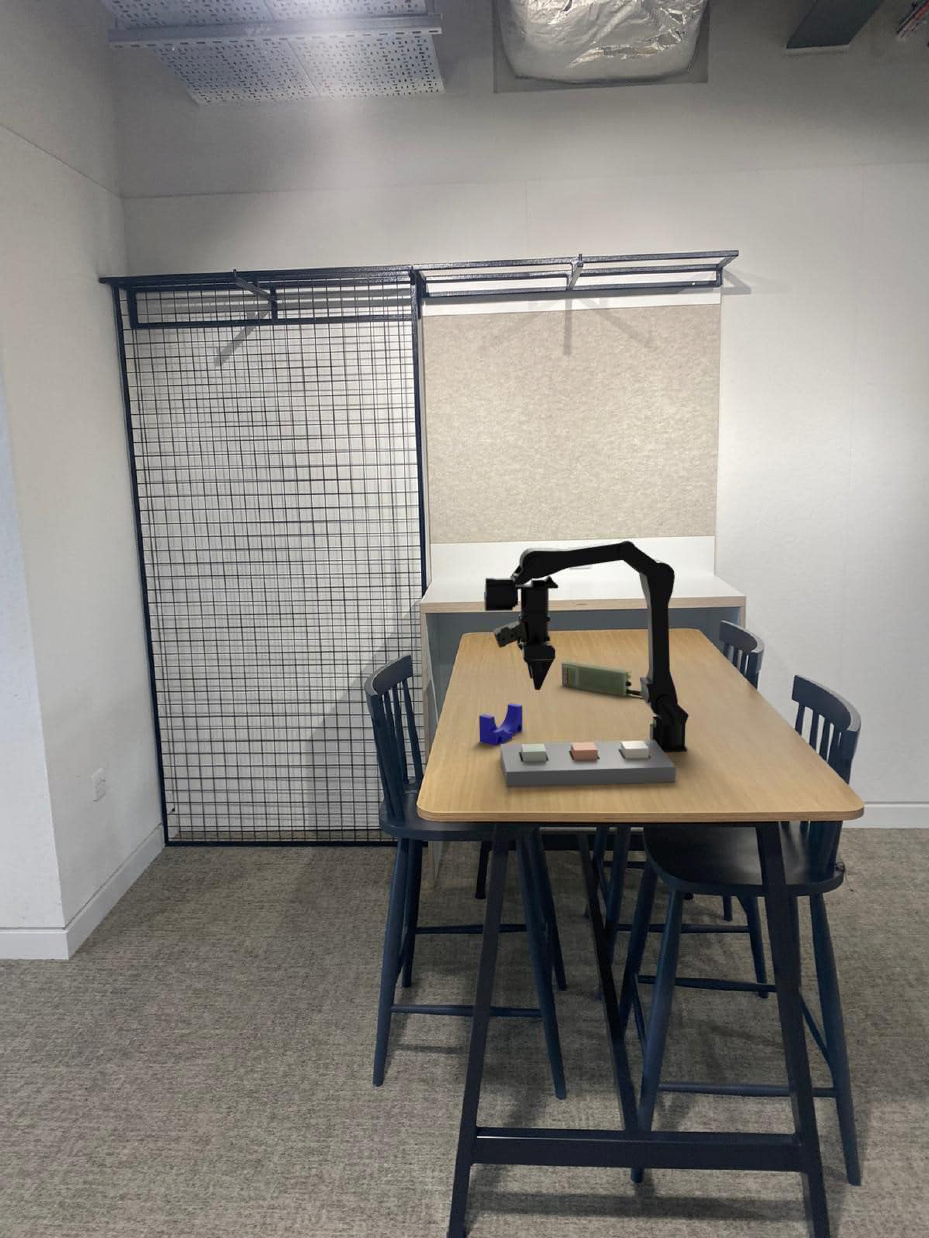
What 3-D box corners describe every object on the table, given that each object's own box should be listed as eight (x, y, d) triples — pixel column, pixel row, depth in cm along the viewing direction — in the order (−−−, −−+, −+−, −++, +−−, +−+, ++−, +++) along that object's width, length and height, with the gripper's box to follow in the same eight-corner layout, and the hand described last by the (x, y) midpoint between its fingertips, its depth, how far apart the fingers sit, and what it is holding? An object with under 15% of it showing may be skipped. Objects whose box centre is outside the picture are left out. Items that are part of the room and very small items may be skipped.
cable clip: (496, 745, 186) (495, 719, 185) (479, 742, 189) (479, 715, 188) (527, 731, 195) (527, 706, 194) (511, 728, 198) (511, 703, 197)
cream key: (643, 750, 173) (643, 740, 172) (648, 758, 168) (648, 748, 168) (620, 751, 173) (620, 741, 172) (625, 758, 168) (625, 748, 168)
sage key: (543, 753, 172) (543, 743, 172) (546, 760, 168) (546, 751, 167) (521, 753, 172) (521, 744, 172) (523, 761, 168) (523, 751, 167)
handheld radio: (567, 683, 237) (650, 697, 221) (560, 686, 234) (643, 701, 218) (566, 660, 235) (649, 672, 220) (559, 663, 233) (643, 675, 217)
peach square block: (593, 751, 173) (593, 742, 172) (597, 759, 168) (597, 749, 168) (571, 752, 172) (571, 742, 172) (574, 760, 168) (574, 750, 168)
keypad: (654, 753, 179) (654, 739, 178) (675, 781, 163) (675, 766, 163) (500, 757, 178) (500, 744, 178) (506, 786, 162) (506, 771, 162)
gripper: (492, 603, 186) (493, 673, 188) (498, 619, 167) (499, 697, 170) (544, 602, 186) (544, 672, 189) (555, 617, 167) (555, 695, 170)
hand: (534, 683), depth 179 cm, fingers open, 9 cm apart
